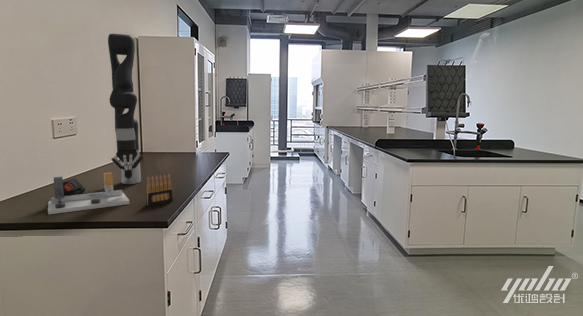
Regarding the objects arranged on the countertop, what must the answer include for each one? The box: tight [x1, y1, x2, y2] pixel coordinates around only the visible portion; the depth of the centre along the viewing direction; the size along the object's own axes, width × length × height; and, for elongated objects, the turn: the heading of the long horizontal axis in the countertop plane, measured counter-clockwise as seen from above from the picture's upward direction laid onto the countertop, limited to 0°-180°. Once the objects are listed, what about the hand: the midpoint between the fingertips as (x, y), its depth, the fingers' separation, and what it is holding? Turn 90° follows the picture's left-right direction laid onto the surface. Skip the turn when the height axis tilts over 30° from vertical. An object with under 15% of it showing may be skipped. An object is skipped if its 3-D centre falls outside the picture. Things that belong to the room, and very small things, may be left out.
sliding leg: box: [103, 171, 114, 197], centre depth 154 cm, size 11×3×8 cm, turn 32°
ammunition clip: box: [145, 173, 174, 207], centre depth 152 cm, size 11×2×12 cm, turn 135°
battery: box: [63, 178, 86, 196], centre depth 165 cm, size 12×8×7 cm
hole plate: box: [47, 192, 130, 215], centre depth 151 cm, size 16×28×3 cm, turn 122°
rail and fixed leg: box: [50, 176, 123, 204], centre depth 150 cm, size 11×26×10 cm, turn 122°
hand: (128, 178), depth 161 cm, fingers closed
